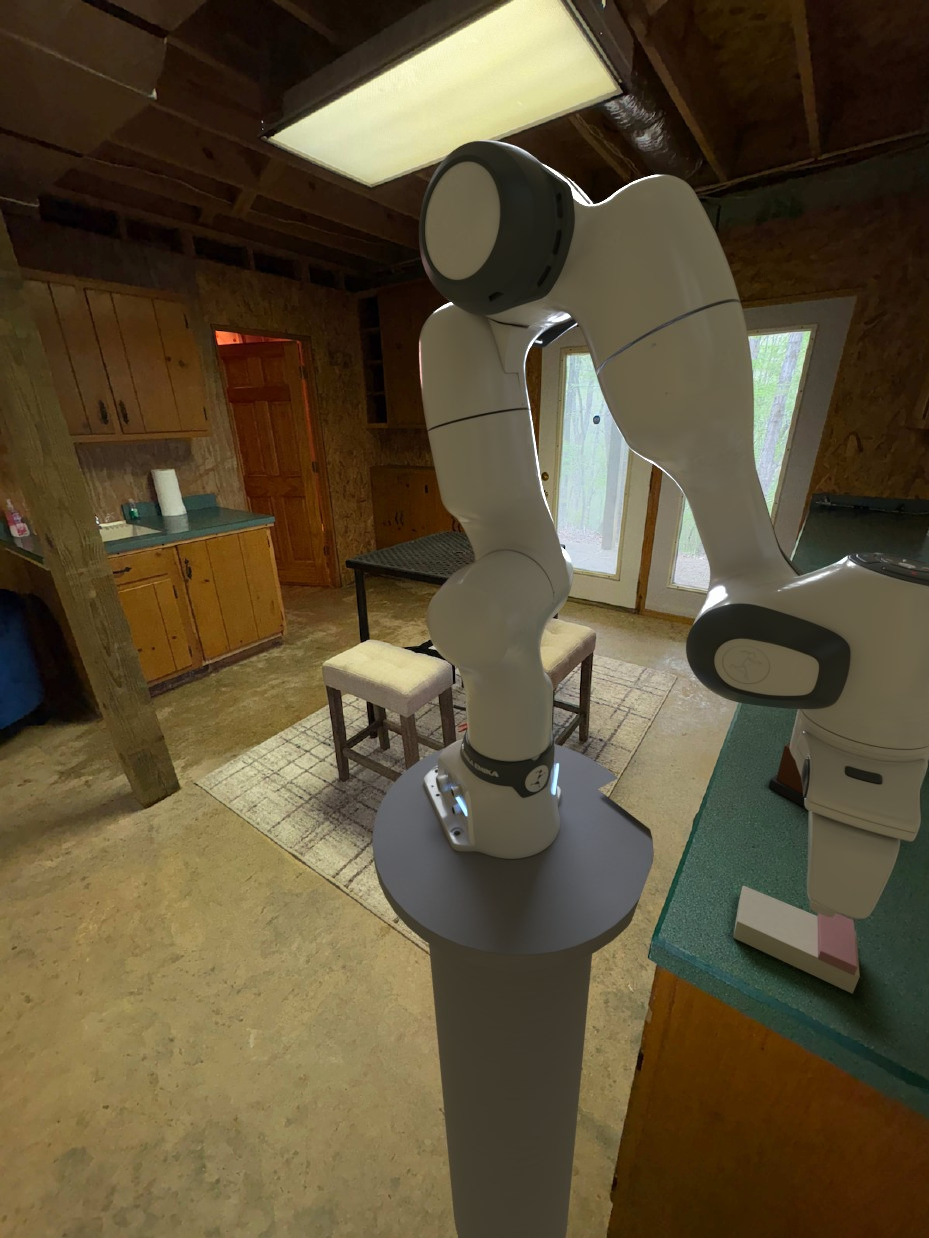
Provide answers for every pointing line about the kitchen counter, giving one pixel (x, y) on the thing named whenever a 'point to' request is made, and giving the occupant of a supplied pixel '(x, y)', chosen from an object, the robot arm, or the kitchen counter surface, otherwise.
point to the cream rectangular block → (800, 938)
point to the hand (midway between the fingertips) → (820, 868)
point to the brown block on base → (788, 778)
